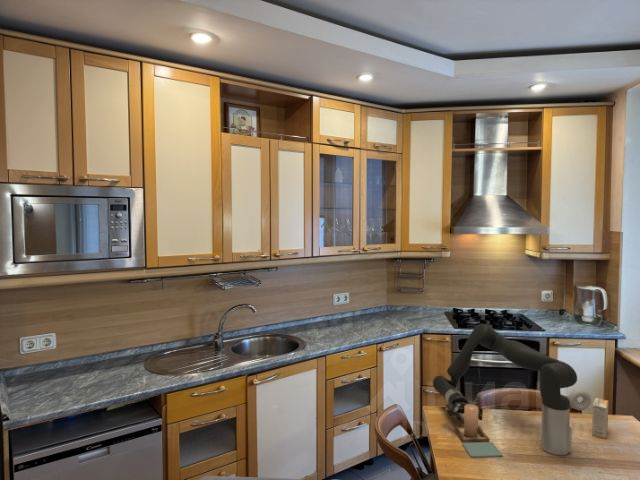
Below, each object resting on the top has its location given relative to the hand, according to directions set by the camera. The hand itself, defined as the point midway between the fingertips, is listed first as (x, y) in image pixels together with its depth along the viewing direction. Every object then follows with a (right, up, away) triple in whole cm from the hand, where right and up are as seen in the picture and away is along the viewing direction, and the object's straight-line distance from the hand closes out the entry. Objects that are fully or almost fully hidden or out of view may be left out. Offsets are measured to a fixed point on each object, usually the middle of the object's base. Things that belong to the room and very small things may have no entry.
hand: (470, 418), depth 170 cm
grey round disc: (+57, -6, +21) cm, 61 cm away
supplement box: (+53, -7, +1) cm, 54 cm away
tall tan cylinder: (0, -7, 0) cm, 7 cm away
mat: (0, -8, -11) cm, 13 cm away
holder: (0, -7, 0) cm, 7 cm away
